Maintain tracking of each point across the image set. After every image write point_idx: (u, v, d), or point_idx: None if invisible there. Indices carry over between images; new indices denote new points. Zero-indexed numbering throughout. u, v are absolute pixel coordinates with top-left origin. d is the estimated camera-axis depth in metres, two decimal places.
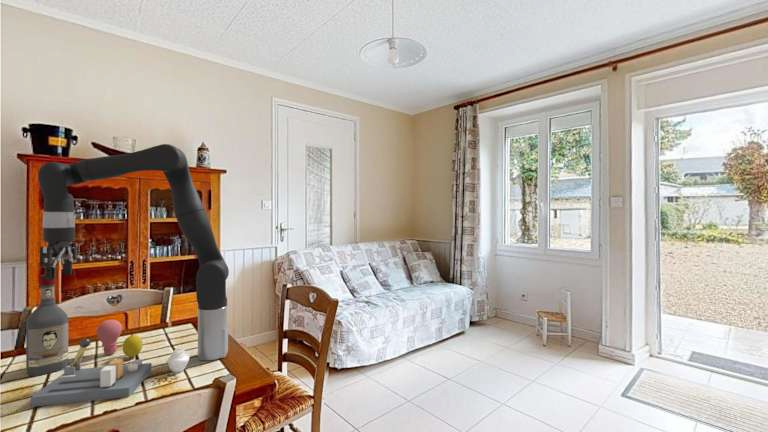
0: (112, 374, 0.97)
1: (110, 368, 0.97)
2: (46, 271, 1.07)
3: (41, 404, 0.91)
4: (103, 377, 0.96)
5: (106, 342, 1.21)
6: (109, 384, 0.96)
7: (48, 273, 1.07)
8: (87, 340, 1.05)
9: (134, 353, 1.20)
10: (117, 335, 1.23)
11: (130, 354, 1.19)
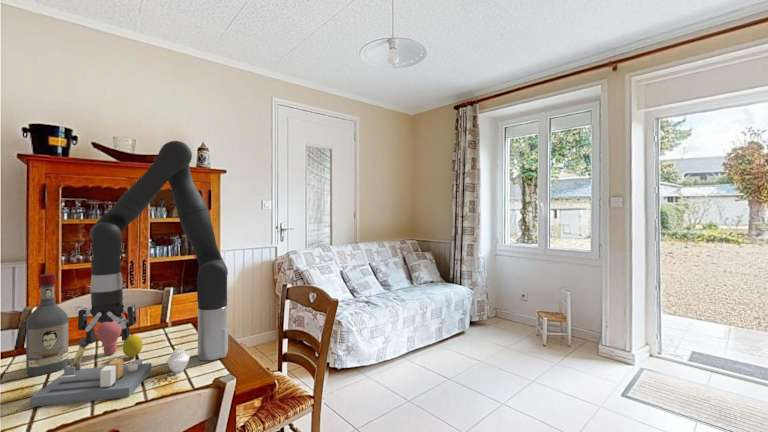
0: (112, 374, 0.97)
1: (110, 368, 0.97)
2: (127, 331, 1.08)
3: (41, 404, 0.91)
4: (103, 377, 0.96)
5: (106, 342, 1.21)
6: (109, 384, 0.96)
7: (128, 332, 1.08)
8: (86, 340, 1.05)
9: (134, 353, 1.20)
10: (117, 335, 1.23)
11: (130, 354, 1.19)
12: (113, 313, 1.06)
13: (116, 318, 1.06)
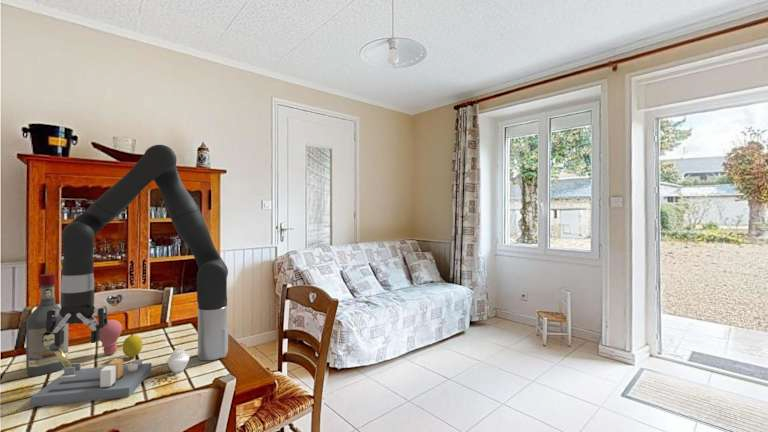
0: (112, 374, 0.97)
1: (110, 368, 0.97)
2: (97, 333, 1.06)
3: (41, 404, 0.91)
4: (103, 377, 0.96)
5: (106, 342, 1.22)
6: (109, 384, 0.96)
7: (98, 334, 1.06)
8: (53, 343, 1.03)
9: (134, 353, 1.20)
10: (117, 335, 1.23)
11: (130, 354, 1.19)
12: (83, 314, 1.04)
13: (86, 320, 1.04)
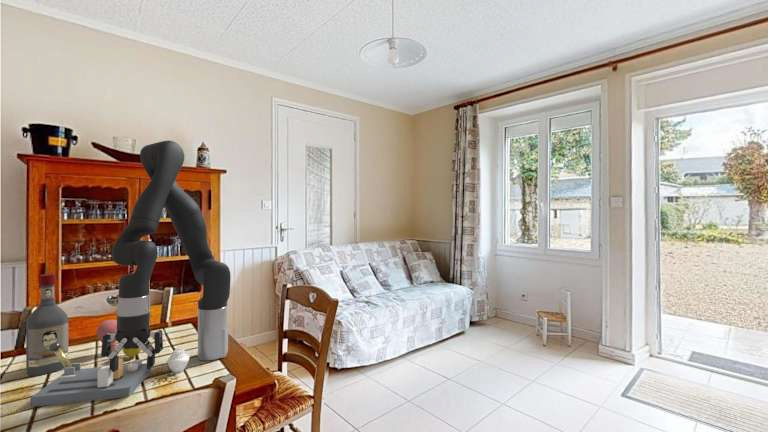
0: (109, 374, 0.97)
1: (107, 368, 0.97)
2: (153, 358, 0.99)
3: (41, 404, 0.91)
4: (100, 377, 0.95)
5: None
6: (106, 384, 0.96)
7: (154, 360, 1.00)
8: (53, 343, 1.03)
9: (134, 353, 1.20)
10: None
11: (130, 354, 1.19)
12: (139, 339, 0.98)
13: (142, 345, 0.98)
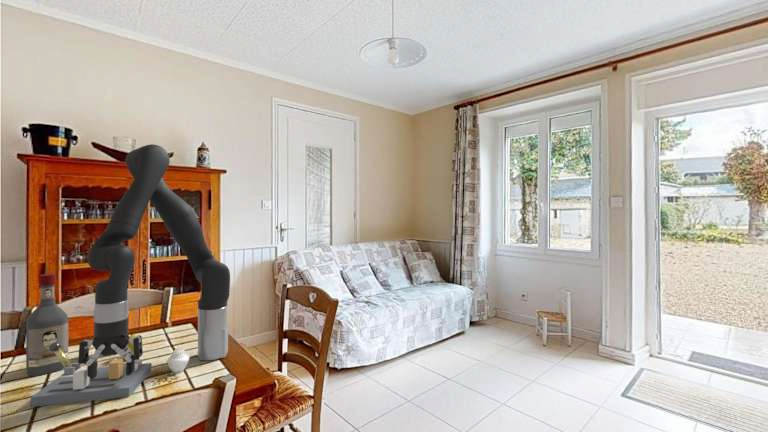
0: (85, 376, 0.95)
1: (83, 370, 0.95)
2: (132, 364, 0.98)
3: (41, 404, 0.91)
4: (76, 379, 0.94)
5: None
6: (82, 387, 0.94)
7: (133, 366, 0.99)
8: (53, 343, 1.03)
9: None
10: None
11: None
12: (117, 345, 0.96)
13: (121, 351, 0.96)
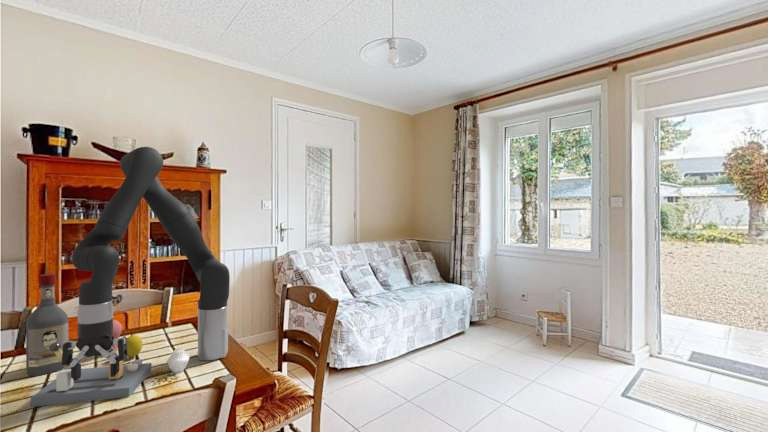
0: (69, 378, 0.95)
1: (67, 372, 0.94)
2: (117, 366, 0.97)
3: (41, 404, 0.91)
4: (59, 381, 0.93)
5: None
6: (65, 388, 0.93)
7: (118, 367, 0.98)
8: (53, 343, 1.03)
9: (134, 353, 1.20)
10: (117, 335, 1.23)
11: (130, 354, 1.19)
12: (102, 346, 0.95)
13: (105, 352, 0.95)
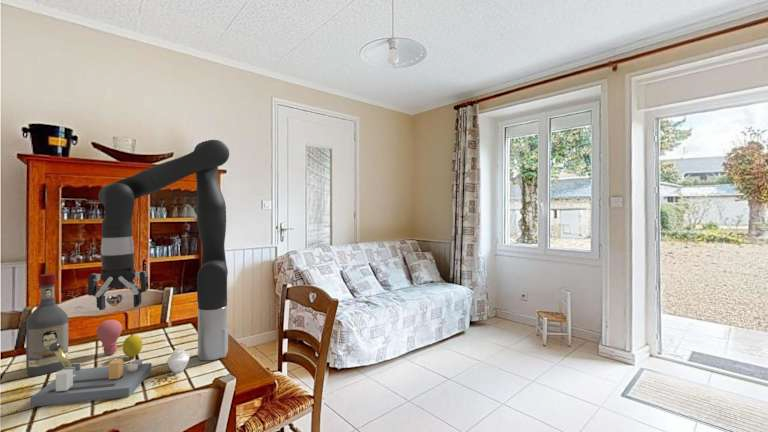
0: (69, 378, 0.95)
1: (66, 372, 0.94)
2: (139, 297, 1.04)
3: (41, 404, 0.91)
4: (59, 381, 0.93)
5: (106, 342, 1.21)
6: (65, 388, 0.93)
7: (140, 299, 1.04)
8: (53, 343, 1.03)
9: (134, 353, 1.20)
10: (117, 335, 1.23)
11: (130, 354, 1.19)
12: (125, 278, 1.02)
13: (128, 283, 1.02)
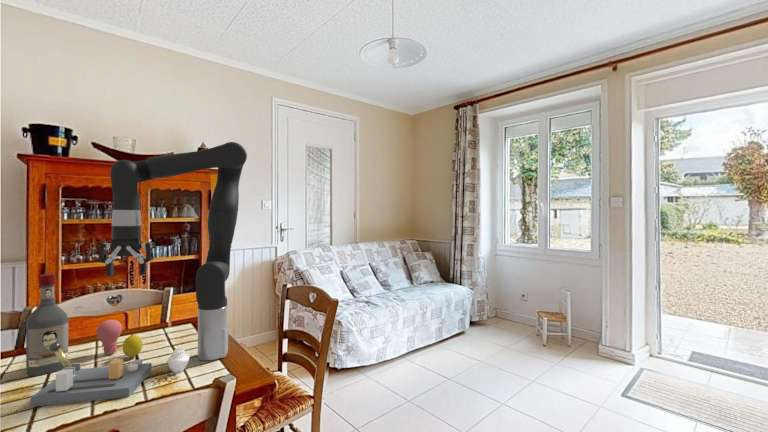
0: (69, 378, 0.95)
1: (66, 372, 0.94)
2: (145, 266, 1.12)
3: (41, 404, 0.91)
4: (59, 381, 0.93)
5: (106, 342, 1.22)
6: (65, 388, 0.93)
7: (145, 268, 1.13)
8: (53, 343, 1.03)
9: (134, 353, 1.20)
10: (117, 335, 1.23)
11: (130, 354, 1.19)
12: (132, 248, 1.11)
13: (135, 253, 1.11)
